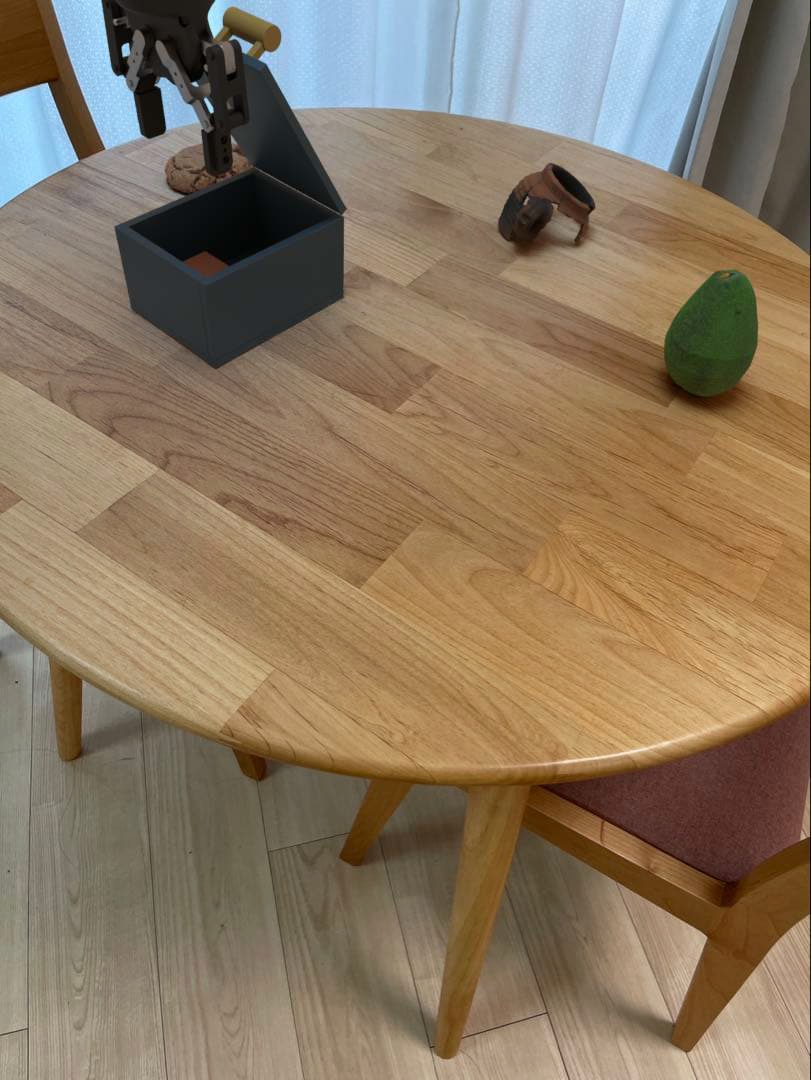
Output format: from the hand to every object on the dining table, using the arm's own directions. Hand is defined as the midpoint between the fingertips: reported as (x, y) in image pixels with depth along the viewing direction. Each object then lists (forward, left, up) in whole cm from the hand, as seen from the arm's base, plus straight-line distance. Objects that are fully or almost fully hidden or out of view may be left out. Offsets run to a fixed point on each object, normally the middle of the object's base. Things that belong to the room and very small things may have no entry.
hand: (186, 153), depth 74 cm
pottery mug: (+32, +22, -17) cm, 43 cm away
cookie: (-7, +27, -17) cm, 33 cm away
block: (0, 0, -16) cm, 16 cm away
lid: (+5, +6, 0) cm, 8 cm away
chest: (+2, +3, -17) cm, 17 cm away
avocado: (+47, -2, -17) cm, 50 cm away
